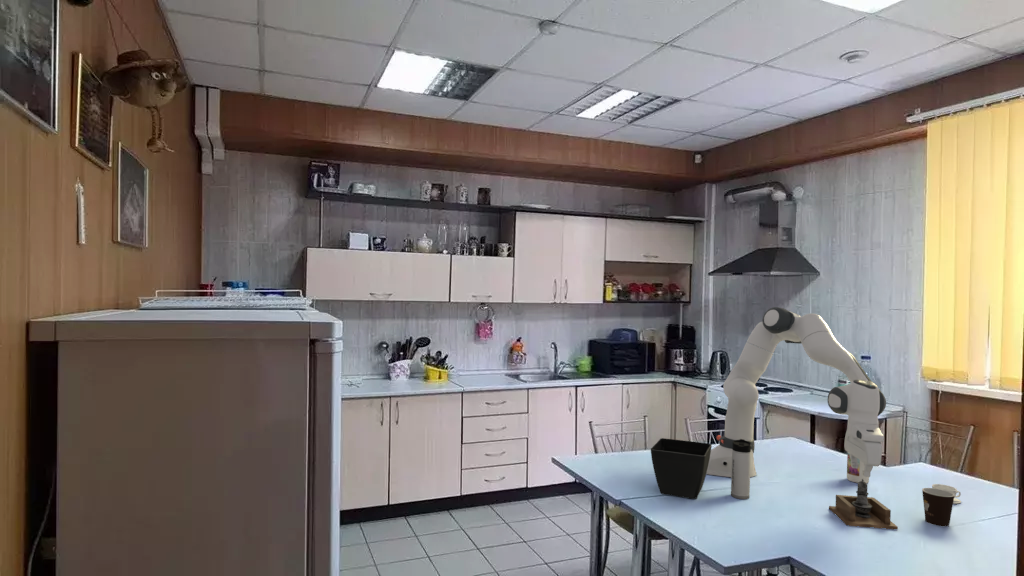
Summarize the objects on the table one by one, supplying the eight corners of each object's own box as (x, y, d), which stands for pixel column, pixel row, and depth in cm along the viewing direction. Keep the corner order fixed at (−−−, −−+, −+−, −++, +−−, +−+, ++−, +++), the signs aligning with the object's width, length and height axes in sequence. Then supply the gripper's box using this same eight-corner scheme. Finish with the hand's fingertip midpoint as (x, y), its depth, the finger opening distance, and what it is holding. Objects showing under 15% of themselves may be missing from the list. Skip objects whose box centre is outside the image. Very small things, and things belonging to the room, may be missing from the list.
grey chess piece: (869, 513, 200) (871, 477, 200) (873, 519, 195) (874, 482, 195) (850, 510, 202) (851, 475, 202) (853, 516, 197) (854, 480, 197)
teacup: (933, 502, 217) (933, 489, 217) (923, 493, 226) (924, 481, 226) (965, 506, 214) (966, 493, 214) (954, 497, 223) (955, 485, 223)
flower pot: (648, 495, 215) (650, 448, 215) (659, 480, 232) (660, 437, 232) (703, 504, 207) (705, 455, 207) (710, 489, 224) (712, 443, 224)
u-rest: (846, 525, 191) (847, 508, 191) (829, 508, 206) (829, 492, 206) (897, 529, 189) (898, 512, 189) (875, 512, 204) (876, 496, 204)
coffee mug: (954, 530, 191) (955, 498, 191) (921, 523, 195) (922, 493, 195) (951, 518, 200) (952, 489, 200) (920, 513, 205) (921, 483, 205)
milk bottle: (863, 478, 243) (864, 429, 243) (872, 484, 235) (874, 433, 235) (843, 477, 244) (844, 428, 244) (852, 483, 236) (853, 432, 236)
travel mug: (749, 495, 218) (751, 440, 218) (748, 500, 212) (750, 444, 212) (731, 492, 221) (733, 438, 221) (730, 497, 215) (731, 441, 215)
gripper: (840, 422, 208) (838, 462, 208) (864, 436, 188) (862, 480, 188) (860, 424, 207) (857, 464, 207) (886, 438, 187) (884, 482, 187)
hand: (860, 472), depth 198 cm, fingers open, 8 cm apart
